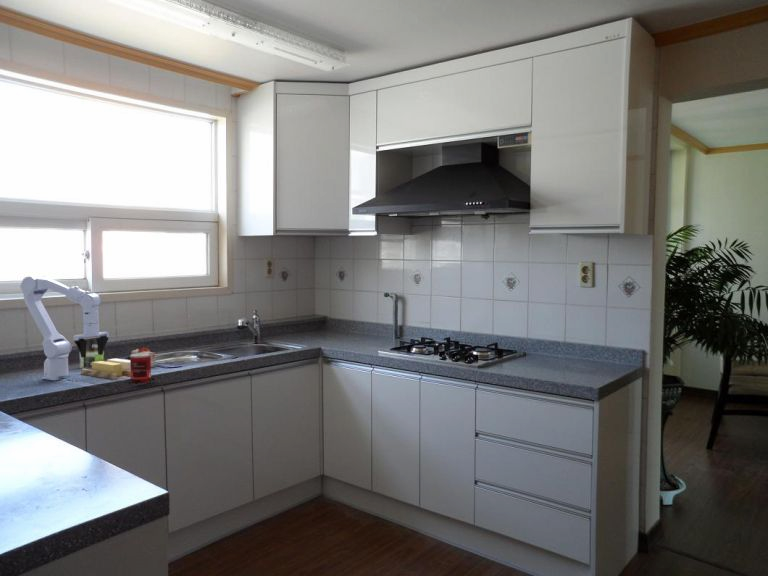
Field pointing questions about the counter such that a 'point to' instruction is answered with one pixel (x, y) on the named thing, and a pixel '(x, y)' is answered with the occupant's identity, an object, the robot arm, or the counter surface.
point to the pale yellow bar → (107, 367)
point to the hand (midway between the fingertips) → (92, 355)
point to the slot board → (106, 374)
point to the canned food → (140, 367)
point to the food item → (146, 350)
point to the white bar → (124, 363)
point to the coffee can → (91, 354)
